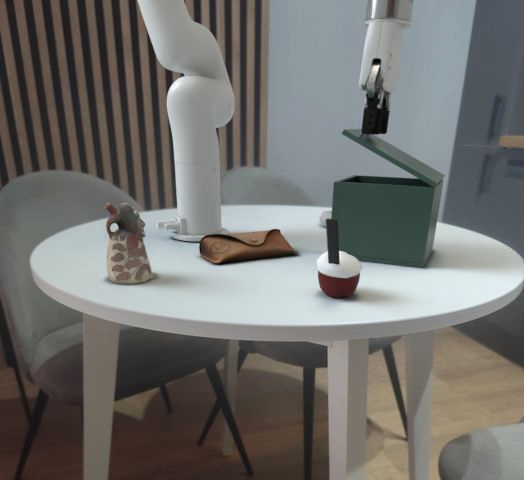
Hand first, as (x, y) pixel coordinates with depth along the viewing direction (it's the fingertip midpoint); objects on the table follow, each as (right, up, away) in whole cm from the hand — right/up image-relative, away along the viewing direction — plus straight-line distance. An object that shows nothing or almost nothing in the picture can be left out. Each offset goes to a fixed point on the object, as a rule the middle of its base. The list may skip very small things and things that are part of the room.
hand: (374, 132), depth 91 cm
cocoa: (-10, -32, -16) cm, 37 cm away
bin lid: (+4, -4, 0) cm, 6 cm away
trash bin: (+3, -21, +8) cm, 22 cm away
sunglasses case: (-23, -22, +6) cm, 32 cm away
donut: (-1, -9, +34) cm, 35 cm away
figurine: (-42, -28, -9) cm, 51 cm away
